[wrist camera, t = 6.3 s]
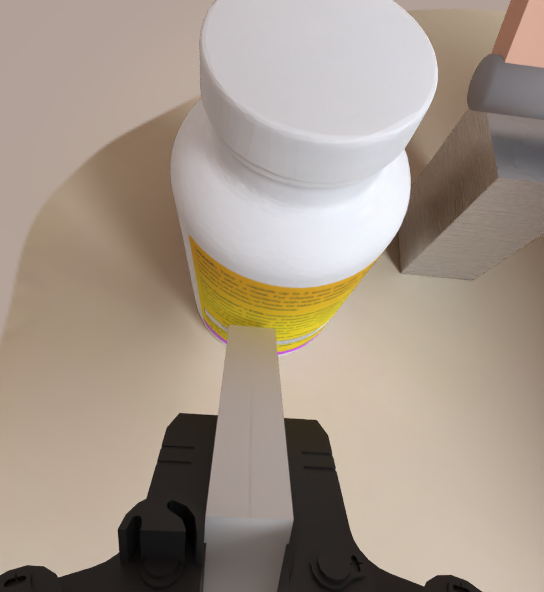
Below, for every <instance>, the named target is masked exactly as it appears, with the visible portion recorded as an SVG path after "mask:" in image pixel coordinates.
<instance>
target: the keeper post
mask: <svg viewBox="0 0 544 592" xmlns="http://www.w3.org/2000/svg"><path fill="white" fill-rule="evenodd" d="M542 234H544V120H541V119H533V118H525V117H518V116H510V115H502V114H494V113H487V112H479V111H472V110H470V109H469V108H468V110H467V111H466V112H465V114H464V115H463V117H462V118H461V119H460V121H459V122H458V124H457V125H456V126H455V128H454V129H453V131H452V132H451V133H450V135H449V136H448V137H447V139H446V140H445V142H444V143H443V144H442V146H441V147H440V149H439V150H438V151H437V153H436V154H435V156H434V157H433V158H432V160H431V161H430V163H429V164H428V165H427V167H426V168H425V170H424V171H423V172H422V174H421V175H420V177H419V178H418V179H417V181H416V182H415V183H414V185H413V186H412V188H411V189H410V198H409V203H408V207H407V211H406V214H405V216H404V219H403V221H402V224H401V226H400V228H399V230H398V239H399V253H400V268H401V273H404V274H414V275H425V276H435V277H446V278H456V279H467V280H474V279H475V278H477V277H478V276H480V275H482V274H483V273H485V272H486V271H488V270H489V269H491V268H492V267H494V266H495V265H497V264H498V263H500V262H501V261H503V260H504V259H506V258H507V257H509V256H510V255H512V254H513V253H515V252H516V251H518V250H519V249H521V248H522V247H524V246H525V245H527V244H529V243H530V242H532V241H533V240H535V239H536V238H538V237H539V236H541V235H542Z"/></svg>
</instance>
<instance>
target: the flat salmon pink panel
mask: <svg viewBox="0 0 544 592" xmlns="http://www.w3.org/2000/svg"><path fill="white" fill-rule="evenodd" d="M467 102H468V107H469V109H470V110H472V111H479V112H487V113H494V114H502V115H510V116H518V117H525V118H533V119H541V120H544V0H511V2H510V4H509V7H508V10H507V13H506V15H505V18H504V21H503V23H502V26H501V29H500V32H499V34H498V37H497V40H496V42H495V45H494V48H493V51H492V53H491V54H489V55H488V56H486V57H485V58H484V59H483V60H482V61H481V63H480V64H479V65H478V67H477V69H476V70H475V72H474V75H473V77H472V79H471V82H470V86H469V90H468V96H467Z"/></svg>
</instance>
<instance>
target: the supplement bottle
mask: <svg viewBox="0 0 544 592" xmlns="http://www.w3.org/2000/svg"><path fill="white" fill-rule="evenodd" d="M199 44H200V45H199V46H200V87H201V99H200V100H199V101H198V102H197V103H196V104H195V106H194V107H193V108H192V109H191V110H190V112H189V113H188V114H187V116H186V117H185V119H184V121H183V123H182V124H181V127H180V129H179V131H178V133H177V136H176V139H175V142H174V145H173V150H172V155H171V166H170V175H171V185H172V190H173V196H174V201H175V205H176V209H177V214H178V218H179V222H180V227H181V232H182V237H183V242H184V246H185V251H186V256H187V261H188V266H189V271H190V276H191V282H192V287H193V291H194V296H195V301H196V305H197V308H198V312H199V314H200V316H201V319H202V320H203V322H204V324H205V326H206V327H207V328H208V330H209V331H210V332H211V334H212V335H213V336H214V337H215V338H216V339H217V340H218V341H220V342H221V343H222V344H224V345H225V346H227V340H228V332H229V325H236V326H249V327H261V328H274V329H275V333H276V344H277V354H278V357H280V356H284V355H287V354H290V353H293V352H295V351H297V350H299V349H301V348H303V347H304V346H306V345H307V344H309V343H310V342H311V341H312V340H313V339H314V338H315V337H316V336H317V335H318V334H319V333H320V332H321V331H322V329H323V328H324V327H325V326H326V324H327V323H328V322H329V320H330V319H331V318H332V317H333V315H334V314H335V313H336V311H337V310H338V309H339V308H340V306H341V305H342V304H343V302H344V301H345V300H346V299H347V297H348V296H349V295H350V293H351V292H352V291H353V290H354V288H355V287H356V286H357V285H358V283H359V282H360V281H361V279H362V278H363V277H364V276H365V274H366V273H367V272H368V270H369V269H370V268H371V267H372V265H373V264H374V263H375V262H376V260H377V259H378V258H379V257H380V255H381V254H382V253H383V252H384V251H385V249H386V248H387V246H388V245H389V243H390V242H391V241H392V239H393V238H394V237H395V235H396V233H397V232H398V230H399V228H400V226H401V224H402V221H403V219H404V216H405V214H406V211H407V207H408V203H409V198H410V188H411V177H410V168H409V163H408V158H407V154H406V151H405V147H406V146H407V144H408V143H409V141H410V139H411V138H412V136H413V134H414V132H415V131H416V129H417V127H418V126H419V124H420V122H421V120H422V119H423V117H424V115H425V113H426V112H427V110H428V108H429V106H430V104H431V102H432V100H433V97H434V94H435V91H436V87H437V82H438V67H437V60H436V56H435V52H434V49H433V47H432V45H431V43H430V40H429V38H428V37H427V35H426V34H425V32H424V30H423V29H422V28H421V26H420V25H419V24H418V23H417V21H416V20H415V19H414V18H413V17H412V16H411V15H410V14H409V13H408V12H406V11H405V10H404V9H403V8H402V7H401V6H399V5H398V4H397V3H396V2H394V1H393V0H215V2H214V3H213V4H212V6H211V7H210V9H209V10H208V11H207V13H206V16H205V18H204V21H203V24H202V27H201V33H200V43H199Z"/></svg>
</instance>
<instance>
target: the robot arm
mask: <svg viewBox="0 0 544 592" xmlns="http://www.w3.org/2000/svg"><path fill="white" fill-rule="evenodd" d="M335 468H336V467H335V463H334V459H333V456H332V450H331V446H330V442H329V437H328V435H327V433H326V432H325V431H324V429H323V428H322V427H321V425H320V424H319V423H318V421H317V420H306V419H289V418H284V416H283V405H282V395H281V385H280V375H279V364H278V354H277V344H276V333H275V329H274V328H261V327H249V326H236V325H229V332H228V340H227V348H226V356H225V364H224V372H223V380H222V388H221V396H220V404H219V412H218V415H202V414H185V413H179V414H178V416H177V417H176V418H175V419H174V420H173V421H172V422H171V423H170V425H169V426H168V427H167V429H166V432H165V436H164V439H163V443H162V448H161V450H160V453H159V457H158V461H157V464H156V467H155V471H154V474H153V478H152V481H151V485H150V488H149V492H148V495H147V499H145V500H143V501H141V502H139V503H138V504H137V505H136V506H135V507H133V508H132V509H131V510H130V511H129V512H128V513H127V514H126V515H125V517H124V519H123V521H122V523H121V524H120V526H119V528H118V538H119V551H120V552H119V553H118V554H117V555H115V556H114V557H112V558H111V559H109V560H108V561H106V562H104V563H102V564H99V565H97V566H94V567H92V568H89V569H85V570H82V571H79V572H75V573H72V574H69V575H65V576H62V577H59V578H58V577H57V575H56V574H55V573H53V572H52V571H50V570H49V569H47V568H46V567H44V566H30V565H27V566H23V567H20V568H16V569H13V570H9V571H7V572H5V573H4V574H2V575H0V592H482V591H480V590H479V589H477V588H476V587H475V586H473V585H472V584H471V583H469V582H468V581H466V580H463V579H460V578H458V577H455V576H452V575H437V576H435V577H434V578H432V579H430V580H429V581H427V582H426V584H425V586H421V585H419V584H416V583H413V582H411V581H408V580H406V579H403V578H400V577H398V576H395V575H392V574H390V573H388V572H386V571H384V570H382V569H380V568H378V567H377V566H376V565H375V564H373V563H372V562H371V561H369V560H368V559H367V558H366V556H365V555H364V554H363V553H362V552H361V551H360V549H359V548H358V546H357V545H356V543H355V541H354V539H353V537H352V534H351V531H350V528H349V523H348V519H347V515H346V510H345V506H344V502H343V497H342V493H341V489H340V485H339V480H338V476H337V472H336V471H335Z"/></svg>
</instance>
